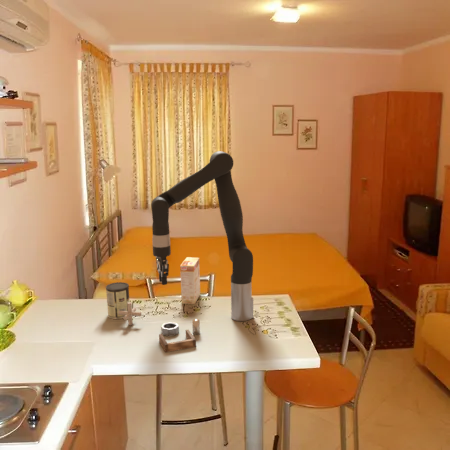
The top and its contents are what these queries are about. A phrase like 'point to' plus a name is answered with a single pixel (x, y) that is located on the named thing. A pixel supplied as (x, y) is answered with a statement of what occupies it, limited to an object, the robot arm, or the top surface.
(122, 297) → the coffee can
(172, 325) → the metal ring
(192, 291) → the coffeecake box
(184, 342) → the groove block
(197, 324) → the beige rounded cylinder
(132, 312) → the pipe connector
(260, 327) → the top surface
